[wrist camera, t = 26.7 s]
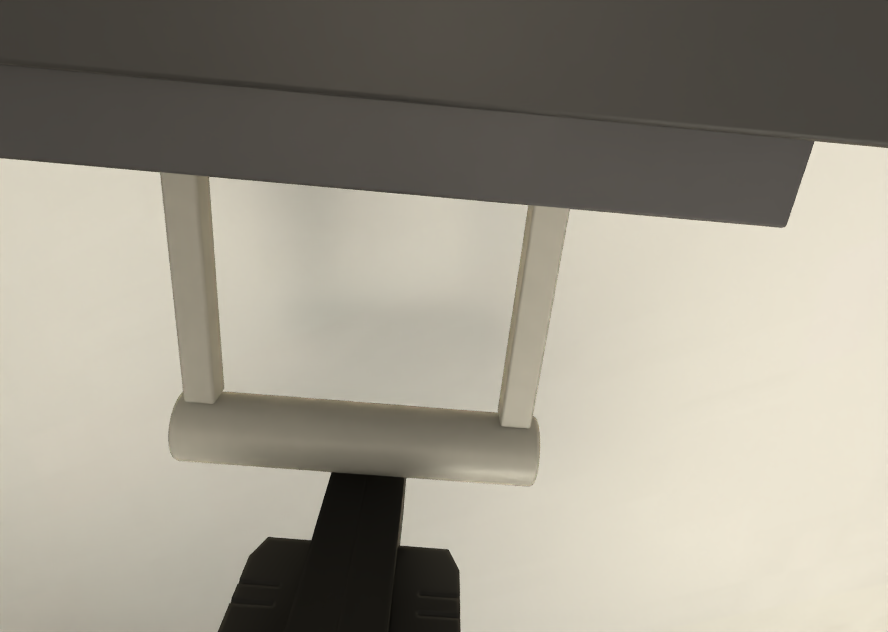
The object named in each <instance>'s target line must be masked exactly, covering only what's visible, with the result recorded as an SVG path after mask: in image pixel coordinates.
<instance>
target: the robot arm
mask: <svg viewBox="0 0 888 632" xmlns="http://www.w3.org/2000/svg"><path fill="white" fill-rule="evenodd" d="M405 486H406V477H392V476H378V475H365V474H351V473H337V472H331V476H330V479H329V483H328V486H327V489H326V493H325V496H324V499H323V503H322V506H321V510H320V513H319V516H318V520H317V523H316V526H315V530H314V533H313V537H312V540H298V539H286V538H273V537H268V538H267V539H266V540H265V541H264V542H263V543H262V544H261V545H260V546H259V547H258V548H257V549H256V550H255V551H254V552H253V553H252V554H251V555H250V556H249V558H248V560H247V562H246V565H245V567H244V570H243V572H242V575H241V577H240V581H239V584H237V587H236V589H235V591H234V594H233V596H232V600H231V603H229V606H228V608H227V611H226V613H225V616H224V618H223V620H222V623H221V625H220V628H219V630H218V632H460V580H459V569H458V567H457V565H456V563H455V561H454V559H453V558H452V556H451V554H450V552H449V550H448V549H435V548H422V547H409V546H400V539H401V530H402V520H403V510H404V498H405Z"/></svg>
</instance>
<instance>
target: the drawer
mask: <svg viewBox="0 0 888 632" xmlns="http://www.w3.org/2000/svg"><path fill="white" fill-rule="evenodd" d="M813 144H814V141H809V140H799V139H788V138H777V137H767V136H756V135H746V134H735V133H724V132H714V131H703V130H693V129H682V128H671V127H661V126H650V125H639V124H629V123H618V122H608V121H597V120H586V119H576V118H565V117H555V116H544V115H533V114H523V113H512V112H502V111H491V110H480V109H470V108H459V107H448V106H438V105H427V104H417V103H406V102H395V101H385V100H374V99H364V98H353V97H342V96H332V95H321V94H310V93H300V92H289V91H279V90H268V89H257V88H247V87H236V86H226V85H215V84H204V83H194V82H183V81H173V80H162V79H151V78H141V77H130V76H119V75H109V74H98V73H88V72H77V71H66V70H56V69H45V68H35V67H24V66H13V65H3V64H0V158H5V159H17V160H28V161H39V162H50V163H62V164H73V165H84V166H95V167H106V168H118V169H129V170H140V171H151V172H160V175H161V185H162V194H163V204H164V213H165V223H166V232H167V242H168V251H169V261H170V270H171V280H172V289H173V299H174V308H175V318H176V327H177V336H178V346H179V355H180V365H181V374H182V384H183V392H182V393H181V394H180V396H179V397H178V399H177V401H176V403H175V405H174V408H173V411H172V414H171V418H170V424H169V434H168V441H169V449H170V453H171V455H172V457H173V458H174V459H176V460H178V461H187V462H201V463H215V464H228V465H242V466H256V467H269V468H283V469H297V470H310V471H324V472H337V473H351V474H365V475H378V476H392V477H406V478H419V479H433V480H447V481H460V482H474V483H488V484H501V485H515V486H531V485H533V484H534V482H535V479H536V476H537V472H538V467H539V458H540V433H539V426H538V422H537V419H536V418H535V417H534V416H533V411H534V406H535V400H536V394H537V389H538V383H539V378H540V372H541V366H542V361H543V355H544V350H545V344H546V339H547V333H548V327H549V322H550V316H551V311H552V305H553V299H554V294H555V288H556V283H557V277H558V271H559V266H560V260H561V255H562V249H563V243H564V238H565V232H566V227H567V221H568V216H569V210H570V209H578V210H589V211H600V212H612V213H623V214H634V215H645V216H656V217H668V218H679V219H690V220H701V221H713V222H724V223H735V224H746V225H757V226H769V227H780V228H782V227H785V226H786V225H787V222H788V219H789V216H790V213H791V210H792V207H793V204H794V201H795V198H796V195H797V192H798V189H799V186H800V183H801V180H802V177H803V174H804V171H805V168H806V165H807V162H808V159H809V156H810V153H811V150H812V147H813ZM209 177H219V178H230V179H241V180H252V181H264V182H275V183H286V184H297V185H309V186H320V187H331V188H342V189H353V190H365V191H376V192H387V193H398V194H410V195H421V196H432V197H443V198H454V199H466V200H477V201H488V202H499V203H511V204H522V205H528V212H527V218H526V225H525V232H524V238H523V245H522V252H521V258H520V265H519V272H518V278H517V285H516V292H515V298H514V305H513V312H512V319H511V325H510V332H509V339H508V345H507V352H506V359H505V365H504V372H503V379H502V385H501V392H500V399H499V405H498V413H495V412H482V411H469V410H456V409H443V408H430V407H417V406H404V405H391V404H379V403H366V402H353V401H340V400H327V399H314V398H301V397H288V396H275V395H262V394H249V393H236V392H223V389H224V380H223V366H222V352H221V338H220V325H219V311H218V297H217V283H216V269H215V256H214V242H213V228H212V214H211V200H210V187H209Z"/></svg>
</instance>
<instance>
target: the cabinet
mask: <svg viewBox="0 0 888 632" xmlns="http://www.w3.org/2000/svg"><path fill="white" fill-rule="evenodd" d="M0 64H3V65H13V66H24V67H35V68H45V69H56V70H66V71H77V72H88V73H98V74H109V75H119V76H130V77H141V78H151V79H162V80H173V81H183V82H194V83H204V84H215V85H226V86H236V87H247V88H257V89H268V90H279V91H289V92H300V93H310V94H321V95H332V96H342V97H353V98H364V99H374V100H385V101H395V102H406V103H417V104H427V105H438V106H448V107H459V108H470V109H480V110H491V111H502V112H512V113H523V114H533V115H544V116H555V117H565V118H576V119H586V120H597V121H608V122H618V123H629V124H639V125H650V126H661V127H671V128H682V129H693V130H703V131H714V132H724V133H735V134H746V135H756V136H767V137H777V138H788V139H799V140H809V141H820V142H830V143H841V144H852V145H862V146H873V147H884V148H888V0H0Z"/></svg>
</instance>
